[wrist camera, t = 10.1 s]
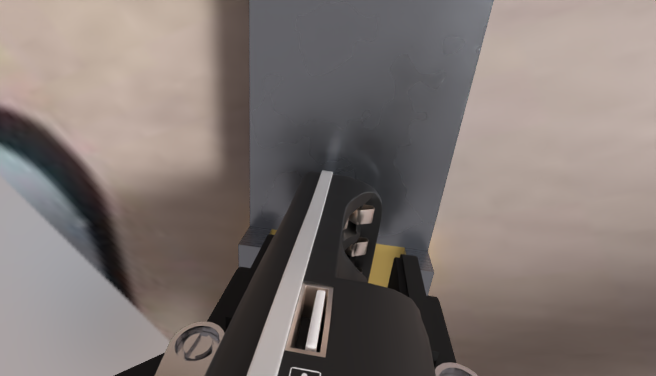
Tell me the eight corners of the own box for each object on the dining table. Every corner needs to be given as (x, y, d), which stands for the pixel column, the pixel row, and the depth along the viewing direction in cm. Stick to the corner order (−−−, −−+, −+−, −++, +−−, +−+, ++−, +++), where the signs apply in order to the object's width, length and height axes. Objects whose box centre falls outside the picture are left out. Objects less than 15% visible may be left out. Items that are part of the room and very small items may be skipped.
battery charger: (374, 314, 15) (388, 906, 5) (293, 300, 15) (137, 838, 5) (406, 175, 12) (619, 898, 2) (305, 160, 12) (0, 740, 2)
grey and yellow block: (485, -36, 12) (560, -86, 7) (389, 354, 20) (396, 446, 15) (266, -56, 12) (207, -114, 8) (260, 334, 20) (230, 418, 16)
